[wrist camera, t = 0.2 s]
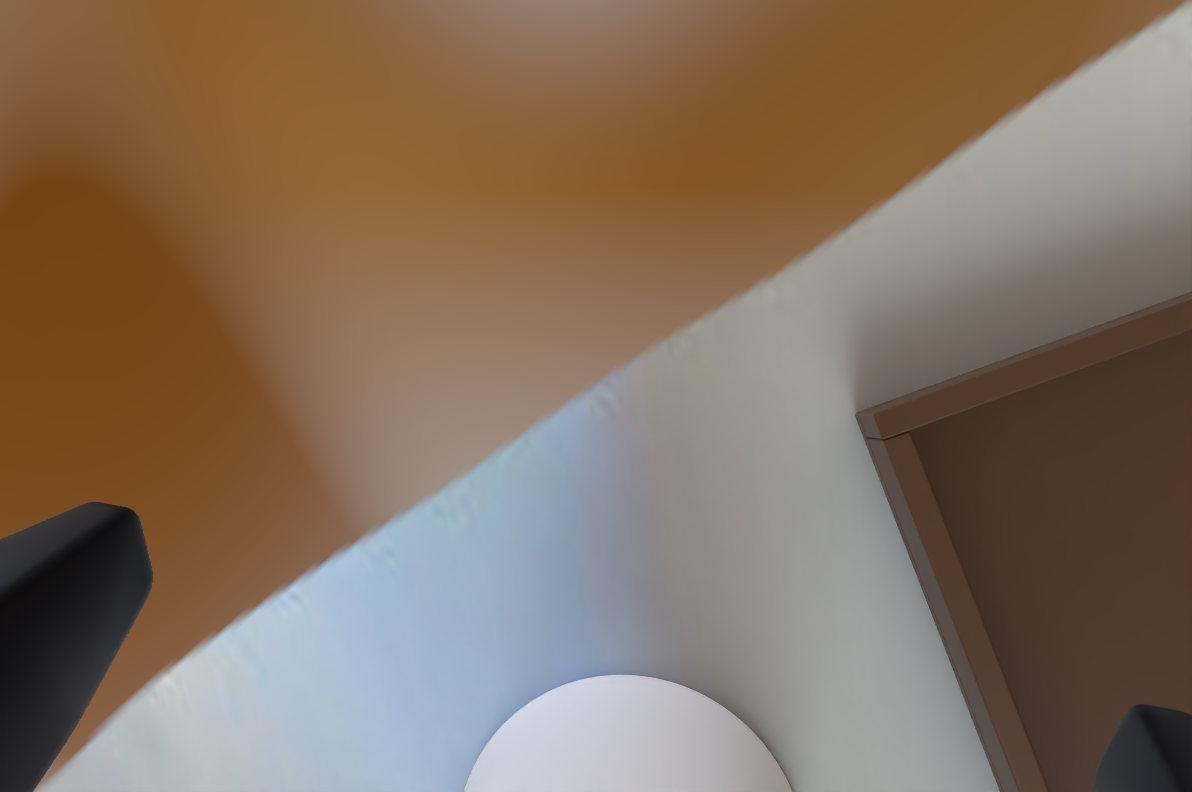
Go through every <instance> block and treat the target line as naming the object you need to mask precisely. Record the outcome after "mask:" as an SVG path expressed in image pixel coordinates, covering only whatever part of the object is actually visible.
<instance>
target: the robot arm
mask: <svg viewBox="0 0 1192 792" xmlns="http://www.w3.org/2000/svg"><path fill="white" fill-rule="evenodd" d="M152 582H153V571H152V566H151V562H150V557H149V554H148V549H147V545H146V541H145V537H144V533H143V529H142V525H141V521H140V519H139V517H138V515H137V514H136V513H135V512H134V511H133V510H131V509H129V508H126V507H121V506H116V505H111V504H106V503H100V502H91V503H87V504H84V505H81V506H79V507H76V508H74V509H72V510H69V511H67V512H65V513H62V514H60V515H58V516H55V517H53V518H50V519H48V520H46V521H43V522H41V523H39V524H36V525H34V526H31V527H29V528H27V529H24V530H22V531H20V532H17V533H15V534H13V535H10V536H8V537H6V538H3V539H1V540H0V792H33V791H34V789H35V788H36V786H37V785H38V783H39V782H40V780H41V779H42V778H43V776H44V775H45V773H46V771H47V770H48V769H49V767H50V766H51V765H52V763H53V762H54V760H55V759H56V757H57V756H58V754H59V753H60V751H61V749H62V748H63V746H64V745H65V743H66V742H67V740H68V739H69V737H70V736H71V734H72V732H73V731H74V729H75V727H76V726H77V724H78V722H79V721H80V719H81V717H82V715H83V714H84V712H85V710H86V708H87V707H88V705H89V703H90V701H91V699H92V698H93V696H94V694H95V692H96V691H97V689H98V687H99V685H100V683H101V682H102V680H103V678H104V676H105V674H106V672H107V671H108V669H109V667H110V665H111V664H112V662H113V660H114V658H115V656H116V655H117V653H118V651H119V649H120V647H121V645H122V644H123V642H124V640H125V638H126V637H127V634H128V633H129V631H130V629H131V627H132V625H133V624H134V622H135V620H136V619H137V617H138V615H139V613H140V611H141V609H142V608H143V606H144V604H145V602H146V600H147V598H148V596H149V594H150V591H151V588H152ZM1094 791H1095V792H1192V715H1190V714H1188V713H1185V712H1183V711H1178V710H1173V709H1168V708H1163V707H1158V706H1152V705H1147V704H1137V705H1135V706H1133V707H1132V708H1130V709H1129V710H1128V712H1127V713H1126V715H1125V716H1124V718H1123V720H1122V722H1121V724H1120V725H1119V727H1118V729H1117V731H1116V733H1115V735H1114V736H1113V738H1112V740H1111V742H1110V744H1109V746H1108V747H1107V749H1106V751H1105V753H1104V755H1103V757H1102V758H1101V760H1100V762H1099V765H1098V767H1097V771H1096V776H1095V788H1094Z"/></svg>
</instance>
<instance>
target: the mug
mask: <svg viewBox="0 0 1192 792" xmlns="http://www.w3.org/2000/svg"><path fill="white" fill-rule="evenodd" d="M464 792H792V790H791V787H790V785H789V783H788V781H787V779H786V777H785V775H784V773H783V771H782V770H781V768H780V766H779V765H778V763H777V761H776V760H775V758H774V757H773V755H772V754H771V753H770V751H769V750H768V749H767V747H766V746H765V745H764V744H763V742H762V741H761V740H760V739H759V738H758V737H757V736H756V734H755V733H754V732H753V731H752V730H751V729H750V728H749V727H748V726H747V725H746V724H744V723H743V722H742V721H741V720H740V719H739V718H738V717H736V716H735V715H734V714H733V713H731V712H730V711H729V710H727V709H726V708H724V707H723V706H721V705H720V704H718V703H717V702H715V701H714V700H712V699H710V698H708V697H706V696H705V695H703V694H701V693H699V692H696V691H694V690H692V689H690V688H687V687H685V686H682V685H679V684H676V683H673V682H670V681H666V680H662V679H657V678H652V677H646V676H637V675H605V676H597V677H591V678H586V679H582V680H578V681H574V682H571V683H568V684H565V685H562V686H560V687H557V688H555V689H553V690H551V691H548V692H546V693H545V694H543V695H541V696H539V697H537V698H536V699H534V700H532V701H531V702H529V703H528V704H527V705H525V706H524V707H522V708H521V709H520V710H519V711H517V712H516V713H515V714H514V715H513V716H511V717H510V718H509V719H508V720H507V721H506V722H505V723H504V724H503V725H502V726H501V727H500V728H499V730H498V731H497V732H496V733H495V734H494V735H493V737H492V738H491V739H490V741H489V742H488V743H487V745H486V746H485V748H484V749H483V751H482V752H481V754H480V756H479V757H478V759H477V761H476V763H475V765H474V767H473V769H472V771H471V773H470V775H469V778H468V780H467V783H466V786H465V789H464Z"/></svg>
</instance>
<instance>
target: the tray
mask: <svg viewBox="0 0 1192 792" xmlns="http://www.w3.org/2000/svg"><path fill="white" fill-rule="evenodd" d="M855 416H856V419H857V421H858V424H859V426H860V429H861V432H862V434H863V437H864V439H865V442H866V445H867V447H868V450H869V452H870V455H871V458H872V460H873V463H874V465H875V468H876V471H877V473H878V476H879V478H880V481H881V484H882V486H883V489H884V491H885V494H886V497H887V499H888V502H889V504H890V507H891V509H892V512H893V515H894V517H895V520H896V522H897V525H898V528H899V530H900V533H901V535H902V538H903V541H904V543H905V546H906V548H907V551H908V554H909V556H910V559H911V561H912V564H913V567H914V569H915V572H916V574H917V577H918V580H919V582H920V585H921V587H922V590H923V592H924V595H925V598H926V600H927V603H928V605H929V608H930V611H931V613H932V616H933V618H934V621H935V624H936V626H937V629H938V631H939V634H940V637H941V639H942V642H943V644H944V647H945V650H946V652H947V655H948V657H949V660H950V663H951V665H952V668H953V670H954V673H955V676H956V678H957V681H958V683H959V686H960V688H961V691H962V694H963V696H964V699H965V701H966V704H967V707H968V709H969V712H970V714H971V717H972V720H973V722H974V725H975V727H976V730H977V733H978V735H979V738H980V740H981V743H982V746H983V748H984V751H985V753H986V756H987V759H988V761H989V764H990V766H991V769H992V772H993V774H994V777H995V779H996V782H997V784H998V787H999V790H1000V792H1095V791H1094V788H1095V776H1096V771H1097V767H1098V765H1099V762H1100V760H1101V758H1102V757H1103V755H1104V753H1105V751H1106V749H1107V747H1108V746H1109V744H1110V742H1111V740H1112V738H1113V736H1114V735H1115V733H1116V731H1117V729H1118V727H1119V725H1120V724H1121V722H1122V720H1123V718H1124V716H1125V715H1126V713H1127V712H1128V710H1129V709H1130V708H1132V707H1133V706H1135V705H1137V704H1147V705H1152V706H1158V707H1163V708H1168V709H1173V710H1178V711H1183V712H1185V713H1188V714H1190V715H1192V292H1190V293H1187V294H1184V295H1182V296H1179V297H1176V298H1173V299H1171V300H1168V301H1165V302H1162V303H1159V304H1157V305H1154V306H1151V307H1148V308H1146V309H1143V310H1140V311H1137V312H1135V313H1132V314H1129V315H1126V316H1124V317H1121V318H1118V319H1115V320H1112V321H1110V322H1107V323H1104V324H1101V325H1099V326H1096V327H1093V328H1090V329H1088V330H1085V331H1082V332H1079V333H1077V334H1074V335H1071V336H1068V337H1065V338H1063V339H1060V340H1057V341H1054V342H1052V343H1049V344H1046V345H1043V346H1041V347H1038V348H1035V349H1032V350H1029V351H1027V352H1024V353H1021V354H1018V355H1016V356H1013V357H1010V358H1007V359H1005V360H1002V361H999V362H996V363H994V364H991V365H988V366H985V367H982V368H980V369H977V370H974V371H971V372H969V373H966V374H963V375H960V376H958V377H955V378H952V379H949V380H946V381H944V382H941V383H938V384H935V385H933V386H930V387H927V388H924V389H922V390H919V391H916V392H913V393H911V394H908V395H905V396H902V397H899V398H897V399H894V400H891V401H888V402H886V403H883V404H880V405H877V406H875V407H872V408H869V409H866V410H864V411H861V412H858V413H856V415H855Z"/></svg>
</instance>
